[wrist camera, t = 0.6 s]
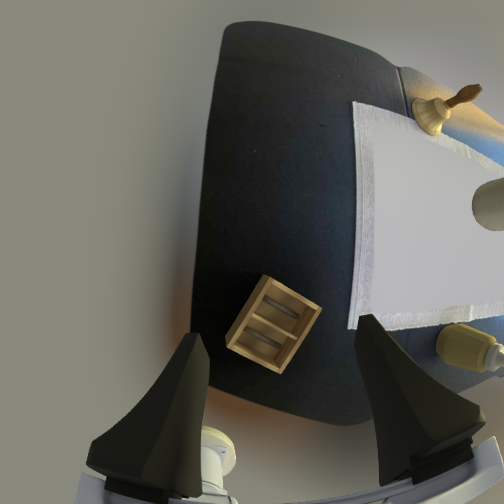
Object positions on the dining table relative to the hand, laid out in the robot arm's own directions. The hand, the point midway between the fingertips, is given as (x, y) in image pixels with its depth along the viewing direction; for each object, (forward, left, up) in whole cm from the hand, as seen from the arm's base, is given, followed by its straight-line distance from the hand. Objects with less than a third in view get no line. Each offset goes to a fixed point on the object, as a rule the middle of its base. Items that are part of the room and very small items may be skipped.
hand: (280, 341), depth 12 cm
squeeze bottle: (-3, -42, -25) cm, 49 cm away
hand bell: (+39, -29, -25) cm, 55 cm away
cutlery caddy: (-4, -6, -25) cm, 26 cm away
